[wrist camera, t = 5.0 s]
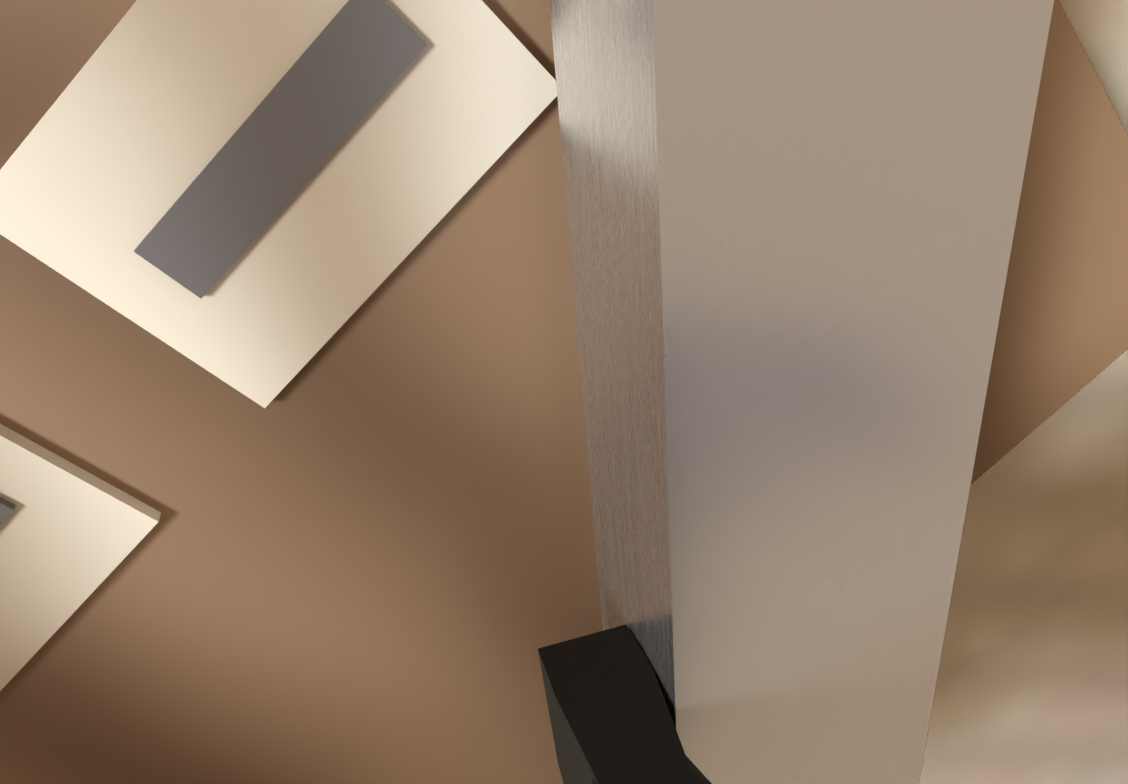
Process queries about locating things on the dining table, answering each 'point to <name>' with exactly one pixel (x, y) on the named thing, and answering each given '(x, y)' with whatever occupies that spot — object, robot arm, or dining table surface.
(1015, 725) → the dining table surface
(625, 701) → the robot arm
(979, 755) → the dining table surface
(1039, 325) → the label board
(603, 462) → the swing bar
